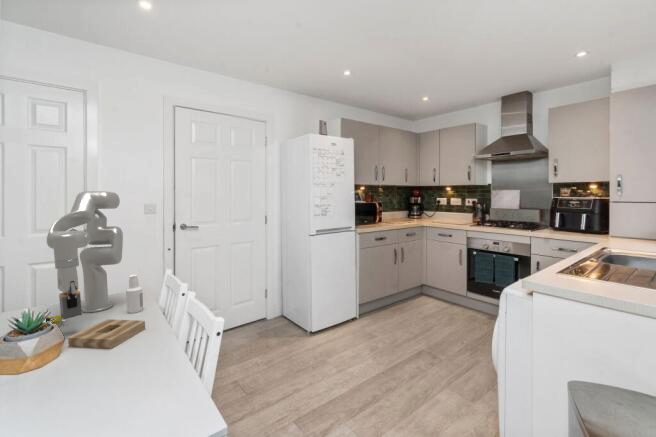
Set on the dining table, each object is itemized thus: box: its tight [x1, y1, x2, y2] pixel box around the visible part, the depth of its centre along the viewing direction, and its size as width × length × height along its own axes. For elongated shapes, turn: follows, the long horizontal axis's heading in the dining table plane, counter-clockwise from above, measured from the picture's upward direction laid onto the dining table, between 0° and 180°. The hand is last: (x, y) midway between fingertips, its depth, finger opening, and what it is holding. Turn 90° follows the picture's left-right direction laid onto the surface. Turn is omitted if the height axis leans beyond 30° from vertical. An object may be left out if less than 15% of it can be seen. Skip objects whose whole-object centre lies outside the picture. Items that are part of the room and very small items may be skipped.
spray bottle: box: [125, 274, 144, 314], centre depth 156 cm, size 7×7×18 cm
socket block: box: [67, 318, 146, 350], centre depth 127 cm, size 18×18×4 cm
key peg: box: [58, 289, 83, 320], centre depth 131 cm, size 4×6×10 cm, turn 143°
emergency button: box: [46, 314, 69, 328], centre depth 138 cm, size 9×4×15 cm
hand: (70, 305), depth 131 cm, fingers closed on key peg, 4 cm apart
